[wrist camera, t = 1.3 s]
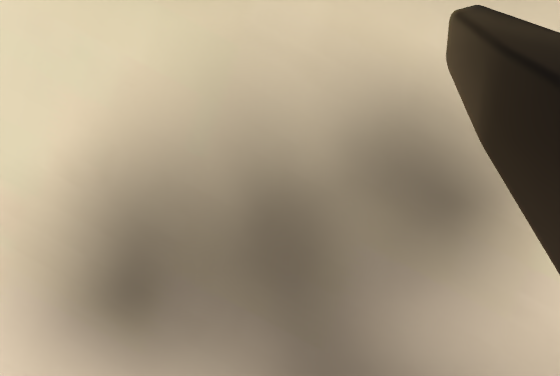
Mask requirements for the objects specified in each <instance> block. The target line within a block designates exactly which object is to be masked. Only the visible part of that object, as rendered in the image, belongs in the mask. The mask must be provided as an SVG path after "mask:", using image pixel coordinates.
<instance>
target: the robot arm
mask: <svg viewBox="0 0 560 376" xmlns="http://www.w3.org/2000/svg"><path fill="white" fill-rule="evenodd" d="M446 60H447V65H448V69H449V71H450V74H451V76H452V78H453V81H454V83H455V85H456V87H457V90H458V92H459V94H460V97H461V99H462V101H463V104H464V106H465V108H466V110H467V113H468V115H469V117H470V120H471V122H472V124H473V127H474V129H475V131H476V133H477V135H478V137H479V140H480V142H481V144H482V145H483V147H484V149H485V151H486V152H487V154H488V156H489V158H490V159H491V161H492V163H493V164H494V166H495V168H496V169H497V171H498V173H499V174H500V176H501V178H502V179H503V181H504V183H505V184H506V186H507V188H508V189H509V191H510V193H511V194H512V196H513V198H514V199H515V201H516V203H517V204H518V206H519V208H520V209H521V211H522V213H523V214H524V216H525V218H526V219H527V221H528V223H529V224H530V226H531V228H532V229H533V231H534V233H535V234H536V236H537V238H538V239H539V241H540V243H541V244H542V246H543V248H544V249H545V251H546V253H547V254H548V256H549V258H550V259H551V261H552V263H553V264H554V266H555V268H556V269H557V271H558V273H559V274H560V33H559V32H556V31H553V30H550V29H547V28H544V27H541V26H538V25H536V24H533V23H530V22H527V21H524V20H521V19H518V18H515V17H513V16H510V15H507V14H504V13H501V12H498V11H495V10H492V9H490V8H487V7H484V6H481V5H474V6H470V7H466V8H463V9H459V10H456V11H454V12H453V13H452V14H451V17H450V20H449V30H448V41H447V52H446Z"/></svg>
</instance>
